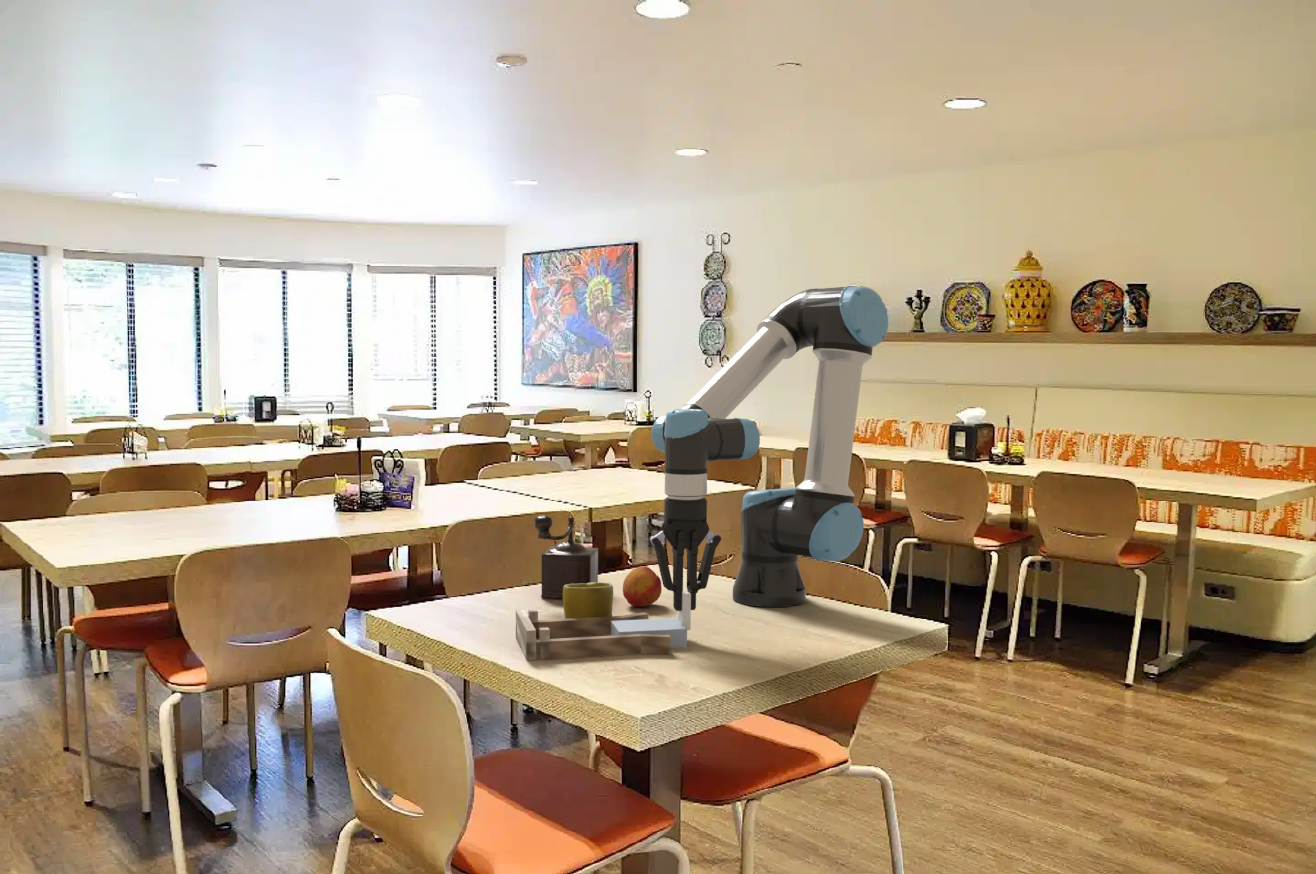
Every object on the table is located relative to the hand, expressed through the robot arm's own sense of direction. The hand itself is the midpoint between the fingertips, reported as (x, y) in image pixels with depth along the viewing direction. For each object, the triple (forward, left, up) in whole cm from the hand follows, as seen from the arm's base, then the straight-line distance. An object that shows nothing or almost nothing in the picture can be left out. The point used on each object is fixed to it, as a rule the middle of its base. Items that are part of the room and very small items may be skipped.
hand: (684, 628), depth 195 cm
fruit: (+1, -27, -2) cm, 27 cm away
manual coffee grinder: (+15, -39, -2) cm, 42 cm away
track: (+17, 0, -2) cm, 17 cm away
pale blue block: (+7, +1, -2) cm, 7 cm away
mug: (+14, -14, -2) cm, 20 cm away
